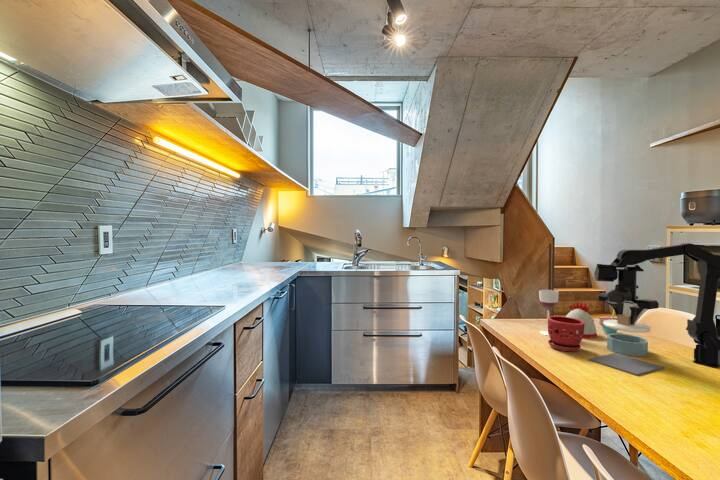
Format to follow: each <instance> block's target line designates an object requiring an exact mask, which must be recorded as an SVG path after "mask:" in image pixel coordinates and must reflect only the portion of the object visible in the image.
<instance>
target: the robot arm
mask: <svg viewBox="0 0 720 480" xmlns="http://www.w3.org/2000/svg"><path fill="white" fill-rule="evenodd" d="M683 255H684V256H686V257H687V258H689V259H690V260H692V261H694V262H695V263H696V266H697V267H696V270H697V273H698V274H699V275H698V276H699V277H700V280H699V287H698V296H697V301H696V302H697V303H696V311H695V316H694V317H693V318H692V319H690V318H689V319H687V320H686V321H687V322H686V323H687V324H686V325H687V326H686V328H685V330H686V331H687V335H689V337H690V338H692V339H693V342H694V343H695V348H693V360H692V362H693V363H695V364H700V365H703V366H708V367H712V368H720V339H719V338H718V331H717V330H718V329H717V326H716V324H715V321H714V318H715V317H714V316H715V310H716V309H715V308H716V301H717V294H718V287H719V286H718V285H719V280H720V254H714V253H712V252H710V251H708V250H705V249H703V248H700V247H699V246H696V245H695V244H694V243H689V242H688V243H687V242H684V243H680V244H675V245H667V246H662V247H661V246H660V247H654V248H653V247H652V248H645V249H622V250H619V251H618V253H617V255H616V258H615V259H614V260H612V261H611V263H610V264H605V263H604V264H603V263H596V266H595V271H593V272H594V273H593V274H594V280H595V281H596V282H606V283H607V282H611V283H612V282H613V283H614V282H615V281H617V284H615V286H614V289H612V290H610V291H609V292H602V293H601V292H600V293H599V294H598V295H597V301H600V302H607V301H608V302H607V304H608V305H609V306H611V307H612V308H613V309H612V310H614V311H615V315H616V316H617V314H624V307H625V306H624V305H625V304H630V305H632V306H629V307H628V308H629V310H630V315H631V324H634V323H635V322H636V321H637V319H638V317H639V316H640V315H641V314H642V312H643V311H644V310H655V309H656V310H657V309H659V308H660V307H659V305H660V304H659V302H658V301H657V300H654V299H649V298H643V299H639V296H638V295H637V289H639V285H637V278H638V276H637V275H638V273H637V272H644V269H643V268H642V267H640V265H639V264H641V263H644V262H647V261H650V260H655V259H663V258H669V257H677V256H683Z"/></svg>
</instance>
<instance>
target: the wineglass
mask: <svg viewBox="0 0 720 480" xmlns="http://www.w3.org/2000/svg"><path fill="white" fill-rule="evenodd" d="M538 295H539V296H538V297H539V303H540V304H541V307H543V308H544V309H546V310H547V319H546V321H547V323H546V325H547V330H546V331H545V330H542V331H539V333H540V335H544V336H549V334H548V317H550V310H552V309H554V308H556V307H557V305H558V302H559V297H560V296H559V295H560V293H559V290H554V289H539V291H538Z"/></svg>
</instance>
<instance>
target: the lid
mask: <svg viewBox="0 0 720 480" xmlns="http://www.w3.org/2000/svg"><path fill="white" fill-rule="evenodd" d="M616 318H617V320H604V321H603V325H604V326H605V327H608V328H611V329H615V330H617V331H621V332H626V333H627V332H628V333H636V334H637V333H638V334H639V333H642V334H643V333H644V334H645V333H650V332H651V326H650V325H647V324H645V323H640V322H636V321H635V323H634V324H631V314H628V313H623V314H617V315H616Z"/></svg>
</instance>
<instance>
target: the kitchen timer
mask: <svg viewBox="0 0 720 480" xmlns="http://www.w3.org/2000/svg"><path fill="white" fill-rule="evenodd" d="M572 306H573V307H572ZM572 306H571V305H569V308H570V311H569V312H568V313H567V314H566V316H565V317H569V318H574V319H578V320H581V321H583V322H584V323H585V326H584V334H583V338H582V339H591V338H592V339H594V338H596V337H597V335H598V334H597V328H596V324H595V320H594V319H593V317H592V315H590V314H589V313H588V310H589V309H590V307H591V306H590V305H589V306H587V302H585V304H584V306H583V302H580V304H579V301H576V304H575V303H572ZM563 331H565V330H563ZM576 333H578V331H576Z"/></svg>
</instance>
